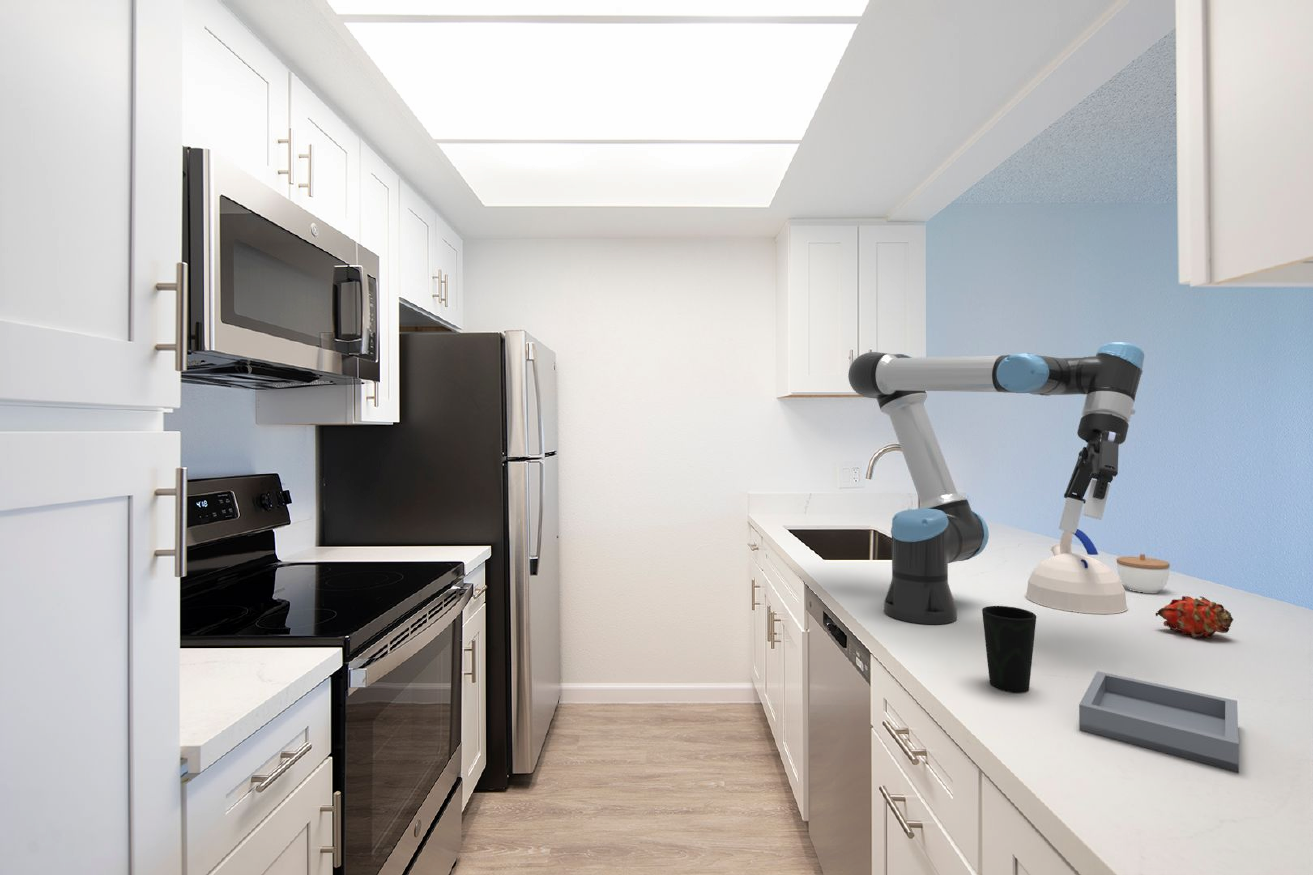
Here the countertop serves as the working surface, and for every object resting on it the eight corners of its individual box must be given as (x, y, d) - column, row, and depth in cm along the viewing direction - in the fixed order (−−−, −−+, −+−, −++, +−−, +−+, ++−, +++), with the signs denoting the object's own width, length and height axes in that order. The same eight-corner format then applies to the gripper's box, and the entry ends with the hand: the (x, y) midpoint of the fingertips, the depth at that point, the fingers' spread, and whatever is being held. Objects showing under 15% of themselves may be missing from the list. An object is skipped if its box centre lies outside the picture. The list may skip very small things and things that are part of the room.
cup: (1044, 697, 95) (1044, 620, 95) (991, 693, 96) (991, 618, 96) (1025, 678, 102) (1025, 606, 102) (976, 674, 104) (975, 604, 104)
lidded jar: (1132, 595, 153) (1131, 558, 153) (1108, 584, 164) (1107, 549, 164) (1180, 596, 151) (1180, 559, 151) (1152, 586, 162) (1152, 550, 162)
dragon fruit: (1241, 650, 119) (1162, 648, 125) (1228, 615, 125) (1154, 615, 131) (1239, 621, 115) (1158, 620, 122) (1226, 587, 121) (1149, 587, 128)
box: (1079, 729, 85) (1079, 704, 85) (1097, 693, 96) (1097, 671, 96) (1238, 772, 74) (1238, 743, 74) (1237, 725, 85) (1237, 700, 85)
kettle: (1101, 593, 155) (1101, 522, 155) (1146, 617, 135) (1146, 536, 135) (1013, 589, 160) (1013, 521, 160) (1044, 612, 140) (1044, 533, 140)
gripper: (1157, 400, 103) (1130, 517, 99) (1103, 445, 126) (1079, 542, 122) (1106, 389, 106) (1077, 502, 102) (1062, 435, 129) (1037, 529, 125)
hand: (1078, 524), depth 112 cm, fingers open, 13 cm apart
